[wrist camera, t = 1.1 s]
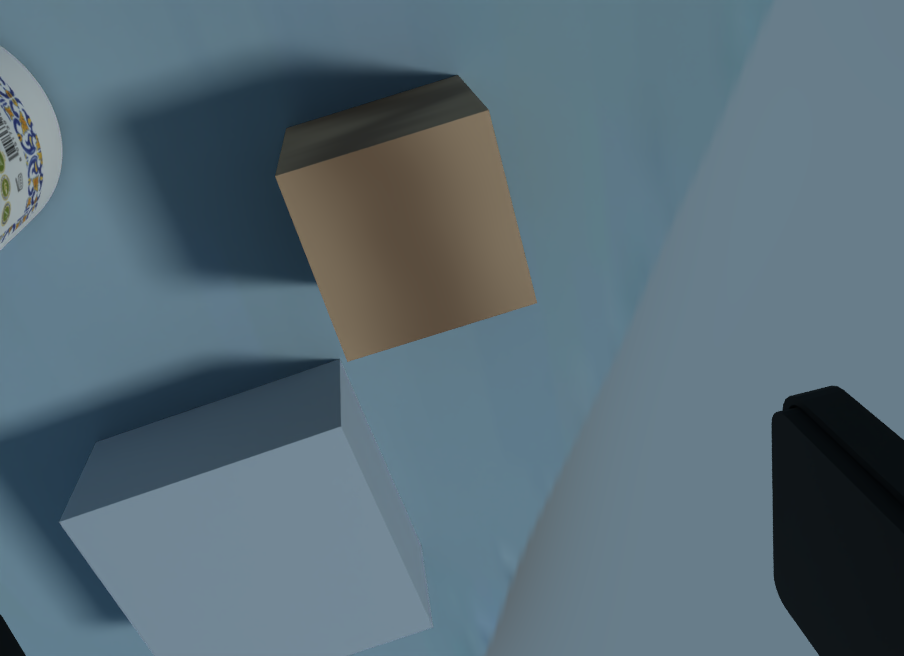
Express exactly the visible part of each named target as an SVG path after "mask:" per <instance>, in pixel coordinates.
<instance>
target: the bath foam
mask: <svg viewBox="0 0 904 656" xmlns="http://www.w3.org/2000/svg"><path fill="white" fill-rule="evenodd" d="M61 166H62V139H61V133H60V128H59V124H58V121H57V118H56V115H55V112H54V110H53V108H52V105H51V103H50V101H49V99H48V98H47V96H46V94H45V92H44V91H43V89H42V88H41V86H40V85H39V83H38V82H37V80H36V79H35V78H34V77H33V75H32V74H31V73H30V72H29V71H28V70H27V69H26V67H25V66H24V65H23V64H22V63H21V62H20V61H19V60H17V59H16V58H15V57H14V56H13V55H12V54H11V53H9V52H8V51H7V50H6V49H4V48H3V47H1V46H0V250H1V249H2V248H3V247H4V246H5V245H6V244H7V243H8V242H9V241H10V240H12V239H13V238H14V237H15V236H16V235H17V234H18V233H19V232H20V231H21V230H22V229H23V228H24V227H25V226H26V225H27V224H28V223H29V222H30V221H31V220H32V219H33V218H34V217H35V216H36V215H37V214H38V213H39V212H40V211H41V210H42V209H43V207H44V206H45V205H46V203H47V202H48V200H49V199H50V197H51V195H52V194H53V192H54V190H55V187H56V185H57V182H58V179H59V176H60V171H61Z"/></svg>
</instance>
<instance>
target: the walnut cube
mask: <svg viewBox="0 0 904 656" xmlns="http://www.w3.org/2000/svg"><path fill="white" fill-rule="evenodd" d="M275 177H276V180H277V182H278V185H279V188H280V190H281V193H282V195H283V198H284V200H285V203H286V205H287V208H288V211H289V213H290V216H291V218H292V221H293V223H294V226H295V228H296V231H297V234H298V236H299V239H300V241H301V244H302V246H303V249H304V252H305V254H306V257H307V259H308V262H309V264H310V267H311V269H312V272H313V275H314V277H315V280H316V282H317V285H318V287H319V290H320V292H321V295H322V298H323V300H324V303H325V305H326V308H327V310H328V313H329V316H330V318H331V321H332V323H333V326H334V328H335V331H336V333H337V336H338V339H339V341H340V344H341V346H342V349H343V351H344V354H345V356H346V359H347V362H348V361H351V360H355V359H358V358H361V357H364V356H367V355H371V354H374V353H377V352H380V351H384V350H387V349H390V348H393V347H396V346H400V345H403V344H406V343H409V342H413V341H416V340H419V339H422V338H426V337H429V336H432V335H435V334H438V333H442V332H445V331H448V330H451V329H455V328H458V327H461V326H464V325H468V324H471V323H474V322H477V321H480V320H484V319H487V318H490V317H493V316H497V315H500V314H503V313H506V312H509V311H513V310H516V309H519V308H522V307H526V306H529V305H532V304H535V303H537V301H536V297H535V293H534V289H533V285H532V281H531V277H530V273H529V269H528V265H527V261H526V257H525V253H524V249H523V245H522V241H521V237H520V233H519V229H518V225H517V221H516V217H515V213H514V209H513V205H512V201H511V197H510V193H509V189H508V185H507V181H506V177H505V173H504V169H503V165H502V161H501V157H500V153H499V149H498V145H497V141H496V137H495V133H494V129H493V125H492V121H491V117H490V113H489V110H488V109H487V108H486V106H485V105H484V104H483V103H482V102H481V101H480V100H479V98H478V97H477V96H476V95H475V94H474V93H473V92H472V90H471V89H470V88H469V87H468V86H467V85H466V84H465V83H464V81H463V80H462V79H461V78H460V77H459V76H458V75H456V76H453V77H450V78H447V79H443V80H440V81H437V82H434V83H431V84H427V85H424V86H421V87H418V88H415V89H411V90H408V91H405V92H402V93H398V94H395V95H392V96H389V97H386V98H382V99H379V100H376V101H373V102H369V103H366V104H363V105H360V106H357V107H353V108H350V109H347V110H344V111H341V112H337V113H334V114H331V115H328V116H324V117H321V118H318V119H315V120H312V121H308V122H305V123H302V124H299V125H295V126H292V127H289V128H286V132H285V136H284V140H283V145H282V149H281V153H280V157H279V162H278V166H277V170H276V175H275Z"/></svg>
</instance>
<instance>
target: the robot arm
mask: <svg viewBox="0 0 904 656" xmlns="http://www.w3.org/2000/svg"><path fill="white" fill-rule="evenodd" d="M772 479H773V480H772V486H773V487H772V488H773V557H774V558H773V559H774V581H775V585H776V589H777V591H778V594H779V597H780V599H781V601H782V603H783V605H784V606H785V608H786V609H787V610H788V612H789V614H790V615H791V616H792V618H793V619H794V621H795V622H796V623H797V625H798V626H799V628H800V629H801V630H802V632H803V633H804V635H805V636H806V637H807V639H808V640H809V642H810V643H811V644H812V646H813V647H814V649H815V650H816V651H817V653H818V654H819V656H904V440H903V439H902V438H900V437H899V436H898V435H897V434H896V433H895V432H893V431H892V430H891V429H890V428H889V427H887V426H886V425H885V424H884V423H882V422H881V421H880V420H879V419H878V418H877V417H875V416H874V415H873V414H872V413H870V412H869V411H868V410H867V409H866V408H865V407H863V406H862V405H861V404H860V403H859V402H857V401H856V400H855V399H854V398H853V397H851V396H850V395H849V394H848V393H846V392H845V391H844V390H843V389H841V388H839V387H838V386H829V387H825V388H821V389H817V390H813V391H809V392H805V393H801V394H797V395H793V396H789V397H788V398H787V399H785V402H784V404H783V411H779V412H776V413H775V414H774V415H773V417H772ZM0 656H26V655H25V654H24V652H23V650H22V649H21V647H20V645H19V644H18V642H17V640H16V639H15V637H14V635H13V634H12V632H11V630H10V629H9V627H8V625H7V624H6V622H5V620H4V619H3V617H2V616H1V615H0Z"/></svg>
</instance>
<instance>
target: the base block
mask: <svg viewBox="0 0 904 656" xmlns="http://www.w3.org/2000/svg"><path fill="white" fill-rule="evenodd" d="M59 523H60V524H61V526H62V527H63V529H64V530H65V531H66V533H67V534H68V536H69V537H70V538H71V540H72V541H73V543H74V544H75V545H76V547H77V548H78V550H79V551H80V552H81V554H82V555H83V557H84V558H85V559H86V561H87V562H88V564H89V565H90V566H91V568H92V569H93V571H94V572H95V573H96V575H97V576H98V578H99V579H100V580H101V582H102V583H103V585H104V586H105V587H106V589H107V590H108V592H109V593H110V594H111V596H112V597H113V599H114V600H115V601H116V603H117V604H118V606H119V607H120V608H121V610H122V611H123V613H124V614H125V615H126V617H127V618H128V620H129V621H130V623H131V624H132V625H133V627H134V628H135V630H136V631H137V632H138V634H139V635H140V637H141V638H142V639H143V641H144V642H145V644H146V645H147V646H148V648H149V649H150V651H151V652H152V653H153V655H154V656H349V655H352V654H355V653H358V652H361V651H364V650H367V649H370V648H373V647H376V646H379V645H382V644H385V643H388V642H391V641H394V640H397V639H400V638H403V637H406V636H409V635H412V634H415V633H418V632H421V631H424V630H427V629H430V628H433V623H432V616H431V609H430V602H429V595H428V588H427V581H426V575H425V568H424V561H423V554H422V547H421V543H420V541H419V539H418V536H417V534H416V532H415V530H414V527H413V525H412V523H411V520H410V518H409V516H408V514H407V511H406V509H405V507H404V504H403V502H402V500H401V498H400V495H399V493H398V491H397V488H396V486H395V484H394V481H393V479H392V477H391V475H390V472H389V470H388V468H387V465H386V463H385V461H384V459H383V456H382V454H381V452H380V449H379V447H378V445H377V443H376V440H375V438H374V436H373V433H372V431H371V429H370V427H369V424H368V422H367V420H366V417H365V415H364V413H363V411H362V408H361V406H360V404H359V401H358V399H357V397H356V395H355V392H354V390H353V388H352V385H351V383H350V381H349V379H348V376H347V374H346V372H345V369H344V367H343V365H342V362H341V360H340V359H338V360H335V361H332V362H329V363H326V364H324V365H321V366H318V367H315V368H312V369H309V370H306V371H303V372H300V373H297V374H294V375H291V376H288V377H285V378H282V379H280V380H277V381H274V382H271V383H268V384H265V385H262V386H259V387H256V388H253V389H250V390H247V391H244V392H241V393H239V394H236V395H233V396H230V397H227V398H224V399H221V400H218V401H215V402H212V403H209V404H206V405H203V406H200V407H198V408H195V409H192V410H189V411H186V412H183V413H180V414H177V415H174V416H171V417H168V418H165V419H162V420H159V421H157V422H154V423H151V424H148V425H145V426H142V427H139V428H136V429H133V430H130V431H127V432H124V433H121V434H118V435H116V436H113V437H110V438H107V439H104V440H101V441H98V442H96V443H95V445H94V447H93V450H92V452H91V454H90V456H89V458H88V460H87V462H86V465H85V467H84V469H83V471H82V473H81V475H80V478H79V480H78V482H77V484H76V486H75V488H74V491H73V493H72V495H71V497H70V499H69V501H68V504H67V506H66V508H65V510H64V512H63V514H62V516H61V519H60V521H59Z"/></svg>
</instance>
